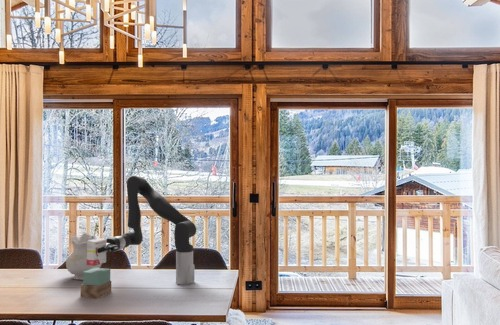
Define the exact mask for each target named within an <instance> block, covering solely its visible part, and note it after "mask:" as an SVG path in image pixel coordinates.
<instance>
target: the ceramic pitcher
mask: <svg viewBox="0 0 500 325" xmlns="http://www.w3.org/2000/svg"><path fill="white" fill-rule="evenodd" d="M93 239H97V237H94V236H93V235H91V233H90V234H89V233H87V232H86V233H82V235H80V236H77V235H72V237H71V245H72V246H73V252H72V253H71V254H70V255H69V256H68V257H67V258H66V259H65V266H66V269H67V271H68V273H70V274H71V275H73V280H78V281H79V280H81V281H83V272H85V271H87V270H90V269H93V268H101V267H102V265H103V263H102V264H99V265H95V266H91V265H87V241H88V240H93Z"/></svg>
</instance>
